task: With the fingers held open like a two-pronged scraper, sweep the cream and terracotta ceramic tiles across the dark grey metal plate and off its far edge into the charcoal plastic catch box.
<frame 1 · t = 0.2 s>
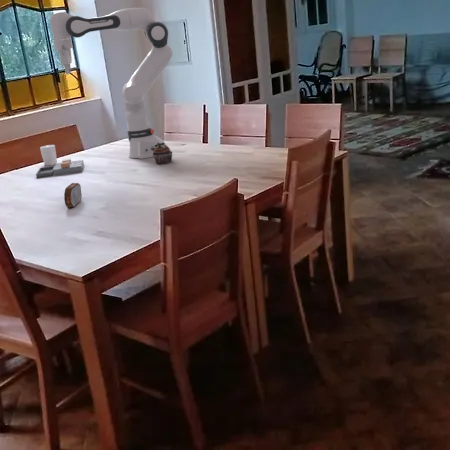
hand: (68, 73, 328), 47 cm above the table, fingers open, 8 cm apart
white cup: (51, 164, 352), on the table
tile cream: (67, 163, 332), point 3 cm above the table, touching far plate
far plate: (69, 170, 329), on the table
tile terracotta: (65, 166, 324), point 3 cm above the table, touching far plate
tin: (75, 205, 261), on the table
catch box: (46, 173, 328), on the table
cupcake: (164, 163, 321), on the table
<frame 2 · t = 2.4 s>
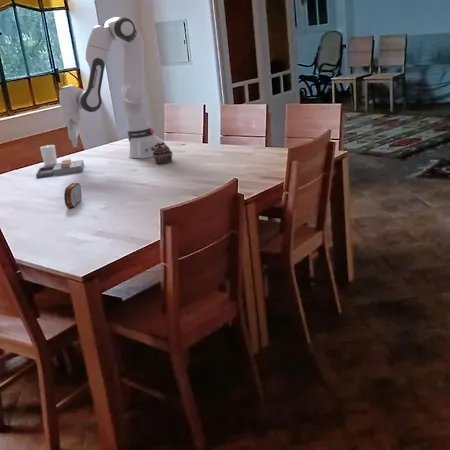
hand: (75, 145, 326), 12 cm above the table, fingers open, 8 cm apart
nothing on the table moved.
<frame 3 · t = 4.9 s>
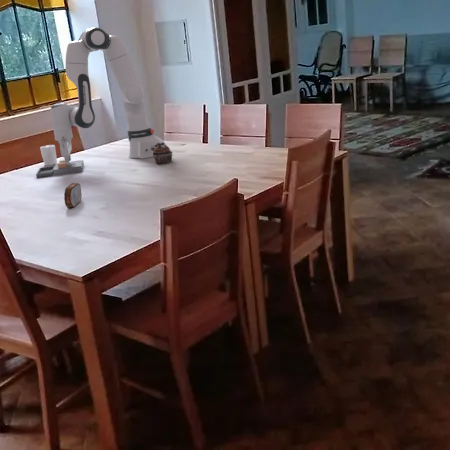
hand: (68, 162, 328), 4 cm above the table, fingers open, 8 cm apart
tile cream: (64, 163, 332), point 3 cm above the table, touching gripper
tile terracotta: (62, 167, 324), point 3 cm above the table, touching far plate
everything else where it was.
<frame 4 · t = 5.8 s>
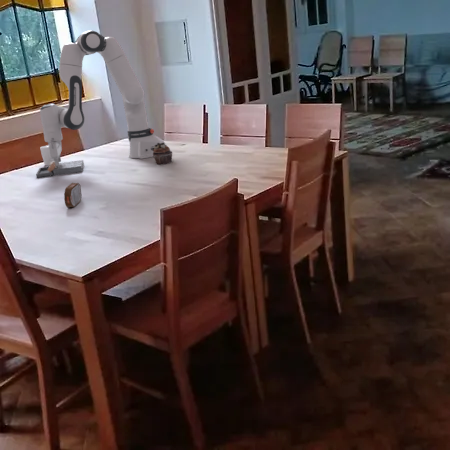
hand: (58, 163, 327), 4 cm above the table, fingers open, 8 cm apart
tile cream: (54, 165, 331), point 3 cm above the table, tilted 21°, touching far plate
tile terracotta: (53, 168, 324), point 3 cm above the table, tilted 42°, touching far plate
everything else where it was.
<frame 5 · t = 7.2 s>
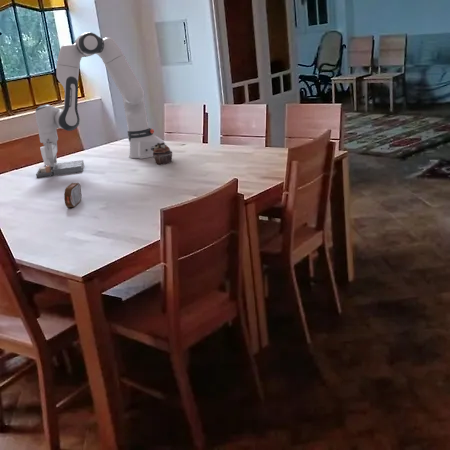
hand: (54, 164, 327), 4 cm above the table, fingers open, 8 cm apart
tile cream: (44, 167, 331), point 2 cm above the table, tilted 180°, touching catch box
tile terracotta: (50, 169, 324), point 2 cm above the table, tilted 90°, touching catch box
everything else where it was.
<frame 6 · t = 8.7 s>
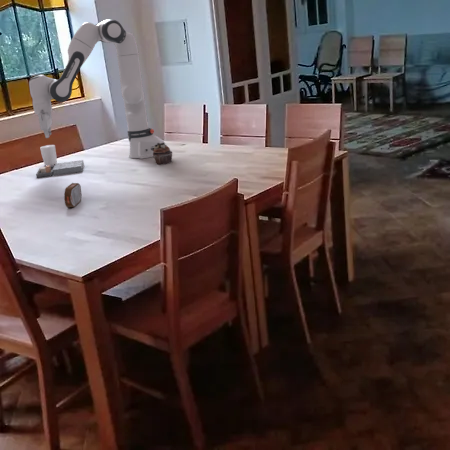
hand: (48, 136, 323), 19 cm above the table, fingers open, 8 cm apart
nothing on the table moved.
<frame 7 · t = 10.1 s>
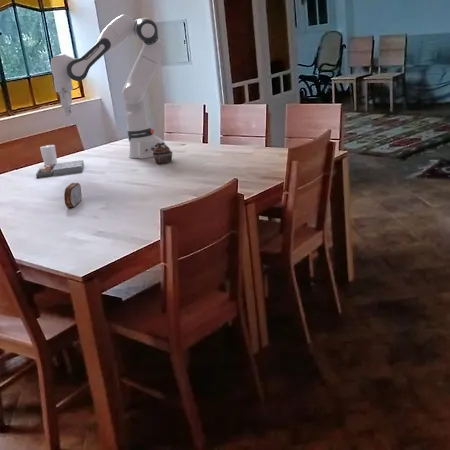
hand: (68, 114, 330), 27 cm above the table, fingers open, 8 cm apart
nothing on the table moved.
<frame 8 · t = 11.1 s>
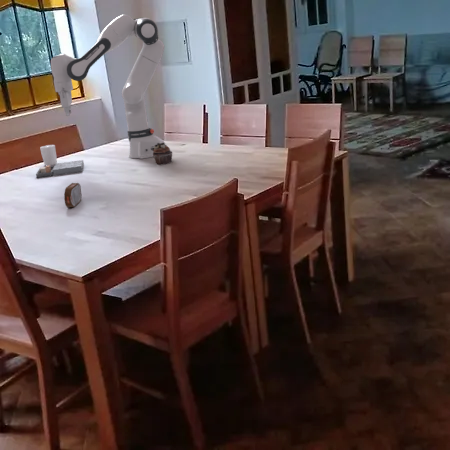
hand: (68, 114, 330), 27 cm above the table, fingers open, 8 cm apart
nothing on the table moved.
at the end: tile cream inside the target area (4.1 cm from its centre), point 2.5 cm above the table; tile terracotta inside the target area (4.6 cm from its centre), point 2.5 cm above the table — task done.
